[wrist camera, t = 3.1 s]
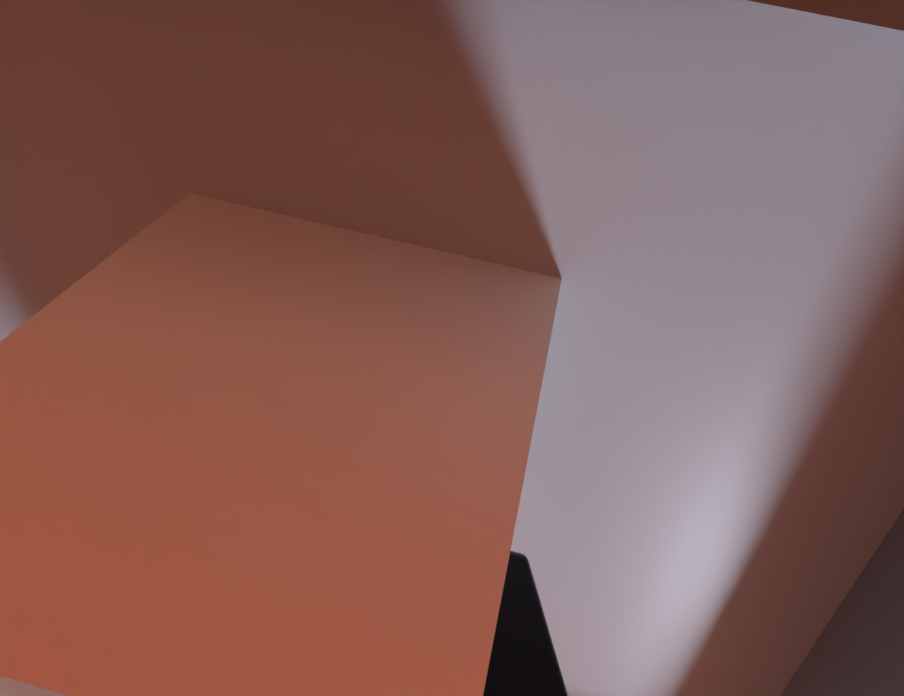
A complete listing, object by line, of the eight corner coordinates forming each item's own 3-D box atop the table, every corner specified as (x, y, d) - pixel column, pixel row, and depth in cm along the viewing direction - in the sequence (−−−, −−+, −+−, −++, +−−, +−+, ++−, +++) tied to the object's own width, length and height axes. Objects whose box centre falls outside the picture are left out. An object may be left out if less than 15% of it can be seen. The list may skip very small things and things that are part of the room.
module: (561, 278, 9) (461, 807, 4) (466, 649, 13) (354, 1151, 8) (189, 193, 9) (-310, 584, 5) (205, 578, 13) (-54, 1014, 8)
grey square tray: (1386, -70, 6) (1843, -11, 4) (722, 847, 15) (736, 1040, 13) (-354, -376, 8) (-816, -474, 5) (-36, 629, 17) (-153, 766, 14)
